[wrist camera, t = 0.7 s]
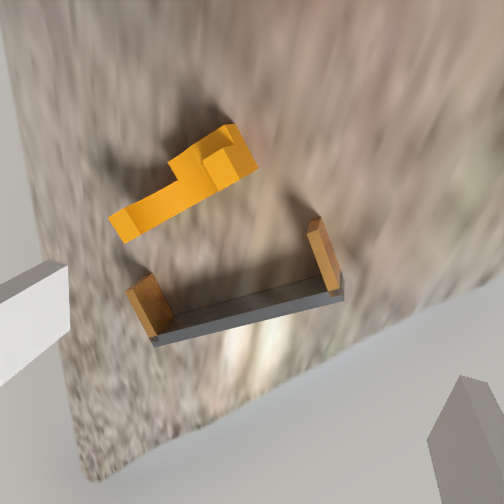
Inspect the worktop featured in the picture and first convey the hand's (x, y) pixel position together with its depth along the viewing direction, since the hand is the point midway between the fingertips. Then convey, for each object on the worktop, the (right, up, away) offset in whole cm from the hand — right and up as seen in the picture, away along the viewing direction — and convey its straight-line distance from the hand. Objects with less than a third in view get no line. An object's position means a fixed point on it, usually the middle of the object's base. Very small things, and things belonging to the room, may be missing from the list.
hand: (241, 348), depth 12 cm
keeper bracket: (-1, 0, +25) cm, 25 cm away
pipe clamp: (-5, +10, +23) cm, 26 cm away
